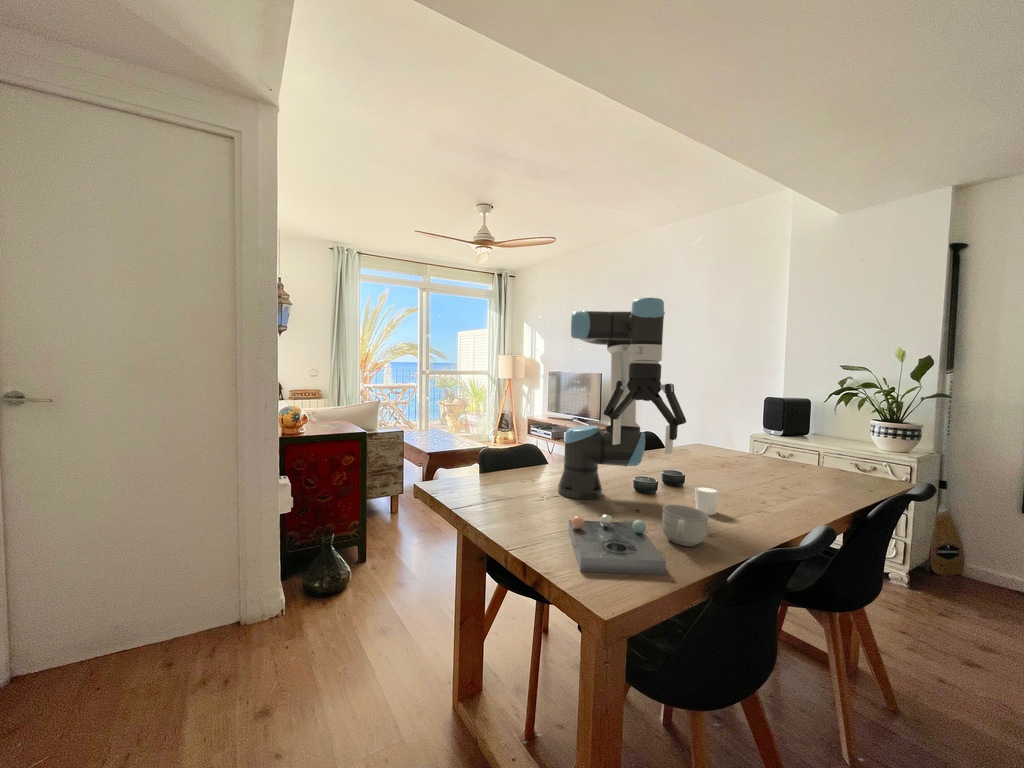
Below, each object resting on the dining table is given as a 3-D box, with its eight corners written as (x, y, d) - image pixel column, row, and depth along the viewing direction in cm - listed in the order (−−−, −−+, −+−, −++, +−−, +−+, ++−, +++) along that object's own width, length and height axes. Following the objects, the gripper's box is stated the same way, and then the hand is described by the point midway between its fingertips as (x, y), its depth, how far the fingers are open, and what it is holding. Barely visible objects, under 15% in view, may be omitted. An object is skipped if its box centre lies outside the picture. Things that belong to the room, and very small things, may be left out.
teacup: (669, 529, 114) (670, 500, 114) (712, 541, 108) (713, 510, 107) (650, 545, 104) (651, 513, 103) (696, 559, 97) (698, 525, 96)
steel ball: (598, 524, 108) (598, 512, 108) (610, 524, 108) (611, 512, 108) (600, 529, 105) (601, 516, 105) (613, 529, 105) (614, 517, 105)
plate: (568, 531, 111) (568, 520, 111) (636, 533, 111) (637, 522, 111) (580, 571, 89) (580, 557, 89) (665, 574, 89) (666, 560, 89)
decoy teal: (630, 530, 105) (631, 517, 105) (643, 530, 105) (643, 518, 105) (634, 535, 102) (634, 522, 102) (647, 535, 102) (647, 522, 102)
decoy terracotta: (570, 526, 107) (570, 513, 106) (583, 526, 106) (583, 514, 106) (572, 531, 103) (572, 518, 103) (585, 531, 103) (585, 518, 103)
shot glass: (689, 510, 130) (690, 488, 130) (699, 506, 135) (700, 485, 135) (712, 517, 125) (713, 494, 125) (721, 512, 130) (722, 490, 130)
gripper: (592, 361, 108) (589, 442, 109) (692, 363, 91) (687, 459, 92) (607, 361, 113) (604, 438, 115) (703, 364, 97) (698, 454, 98)
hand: (641, 448), depth 104 cm, fingers open, 13 cm apart
